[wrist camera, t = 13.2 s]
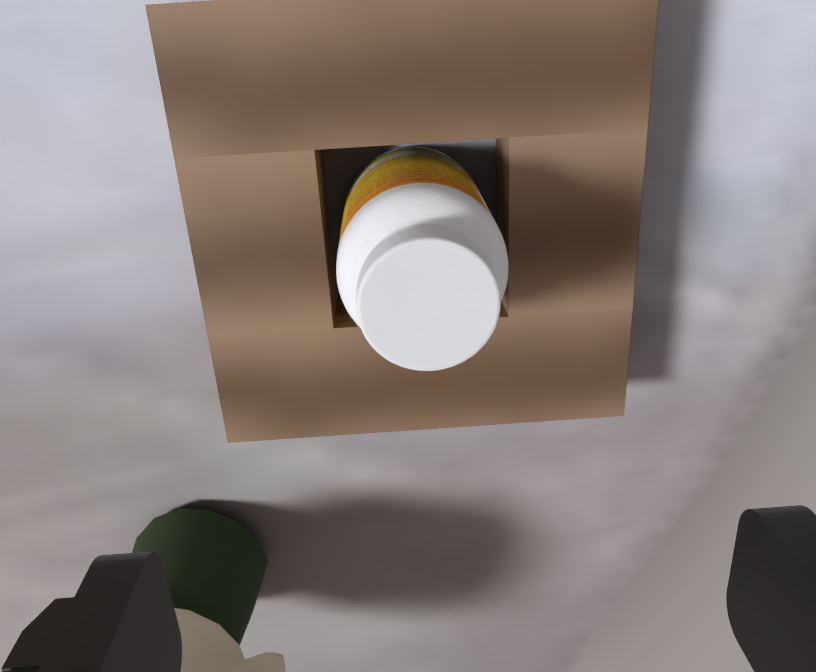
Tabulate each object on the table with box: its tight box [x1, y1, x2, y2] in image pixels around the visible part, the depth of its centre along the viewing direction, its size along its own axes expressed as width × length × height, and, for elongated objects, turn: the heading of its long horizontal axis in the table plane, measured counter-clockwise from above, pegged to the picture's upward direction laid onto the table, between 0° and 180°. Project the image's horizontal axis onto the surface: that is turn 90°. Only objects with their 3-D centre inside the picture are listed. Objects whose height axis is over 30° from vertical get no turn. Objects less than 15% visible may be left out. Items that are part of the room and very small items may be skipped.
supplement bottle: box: [336, 146, 508, 371], centre depth 24 cm, size 5×5×10 cm
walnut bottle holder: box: [145, 0, 658, 443], centre depth 27 cm, size 16×16×3 cm
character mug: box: [132, 508, 285, 672], centre depth 29 cm, size 11×7×13 cm, turn 112°
